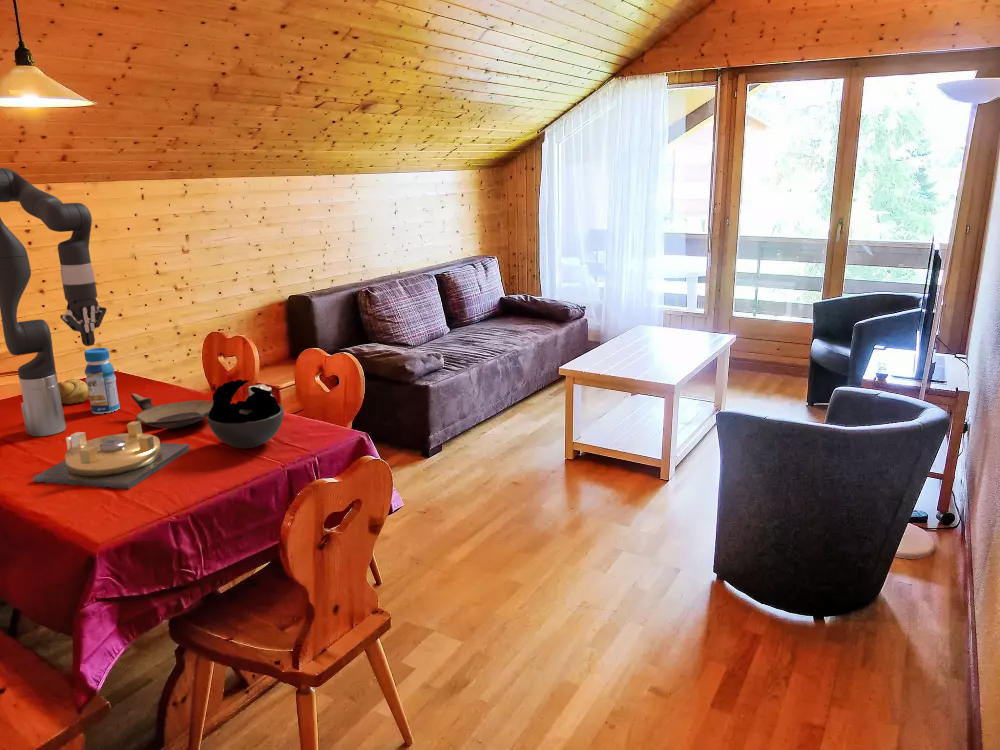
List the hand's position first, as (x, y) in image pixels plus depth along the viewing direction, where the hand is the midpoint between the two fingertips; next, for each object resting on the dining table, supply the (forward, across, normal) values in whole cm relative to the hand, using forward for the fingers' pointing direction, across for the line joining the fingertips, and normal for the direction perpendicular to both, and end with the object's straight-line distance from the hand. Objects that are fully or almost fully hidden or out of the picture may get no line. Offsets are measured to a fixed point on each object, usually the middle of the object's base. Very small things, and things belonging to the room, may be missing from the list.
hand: (89, 345), depth 197 cm
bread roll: (+29, +29, +44) cm, 61 cm away
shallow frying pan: (+29, +22, -4) cm, 37 cm away
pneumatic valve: (+29, +31, -30) cm, 52 cm away
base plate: (+29, -10, -14) cm, 34 cm away
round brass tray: (+27, -10, -14) cm, 32 cm away
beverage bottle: (+29, +24, +26) cm, 46 cm away
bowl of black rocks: (+29, +13, -38) cm, 50 cm away
